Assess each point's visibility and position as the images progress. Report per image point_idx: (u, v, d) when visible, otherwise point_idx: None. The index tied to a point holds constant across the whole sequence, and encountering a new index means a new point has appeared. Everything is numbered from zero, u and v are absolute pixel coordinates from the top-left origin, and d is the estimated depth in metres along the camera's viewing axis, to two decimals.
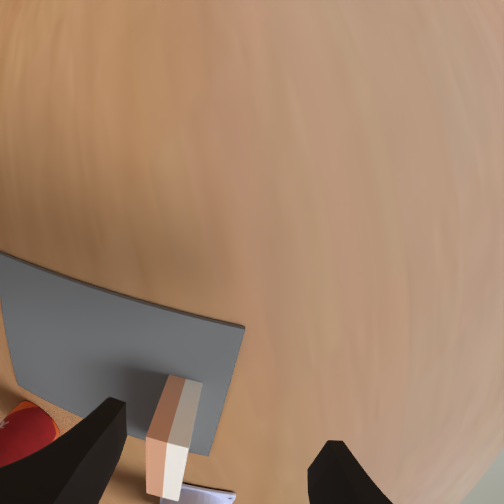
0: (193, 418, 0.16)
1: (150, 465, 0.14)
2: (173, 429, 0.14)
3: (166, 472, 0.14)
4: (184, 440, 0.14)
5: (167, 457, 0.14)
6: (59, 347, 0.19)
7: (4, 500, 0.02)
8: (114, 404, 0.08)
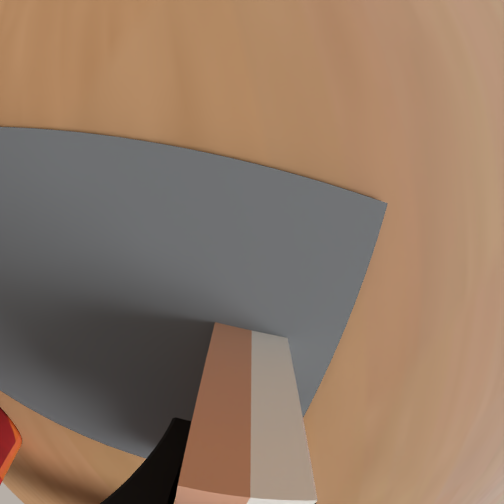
0: (298, 414, 0.06)
1: None
2: (258, 452, 0.05)
3: None
4: (299, 479, 0.04)
5: None
6: (3, 278, 0.09)
7: None
8: (183, 425, 0.08)
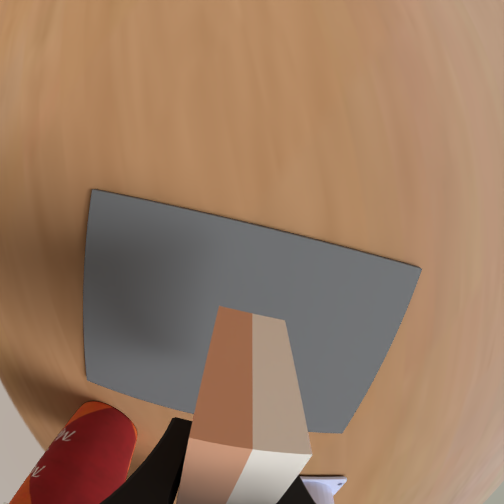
0: (294, 382, 0.07)
1: None
2: (259, 411, 0.06)
3: None
4: (295, 436, 0.05)
5: (239, 486, 0.05)
6: (181, 316, 0.17)
7: None
8: (183, 425, 0.08)
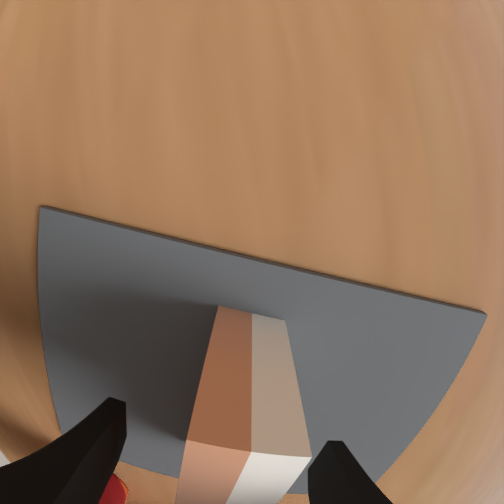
0: (294, 383, 0.07)
1: None
2: (258, 413, 0.06)
3: None
4: (294, 438, 0.05)
5: (238, 488, 0.05)
6: (172, 385, 0.11)
7: (4, 500, 0.02)
8: (114, 404, 0.08)
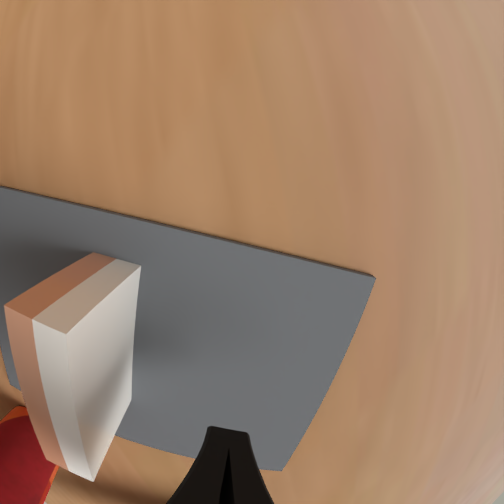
0: (101, 297, 0.09)
1: (26, 390, 0.07)
2: (56, 304, 0.07)
3: (51, 409, 0.07)
4: (66, 322, 0.07)
5: (41, 366, 0.07)
6: None
7: None
8: (220, 433, 0.08)
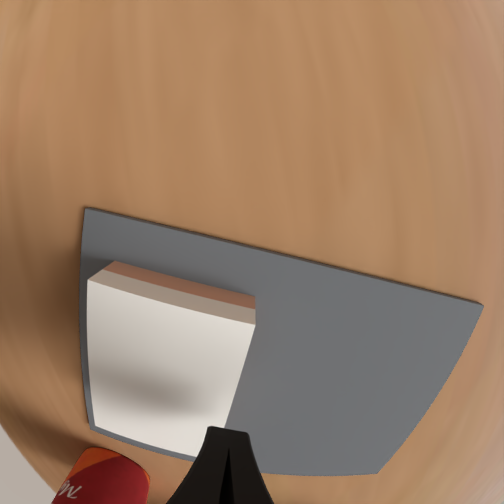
0: (150, 297, 0.10)
1: None
2: (125, 277, 0.10)
3: None
4: (103, 280, 0.10)
5: None
6: None
7: None
8: (220, 433, 0.08)
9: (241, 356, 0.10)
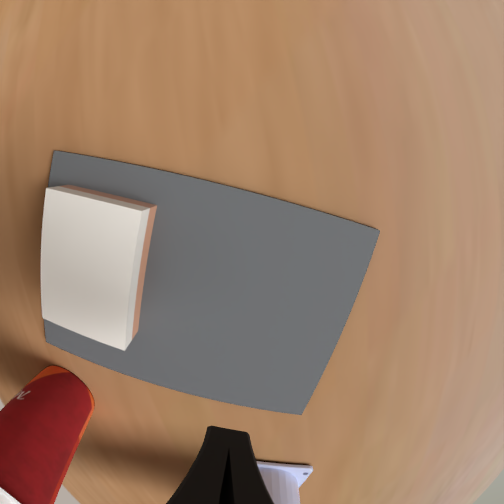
0: (80, 195, 0.13)
1: None
2: (71, 189, 0.14)
3: None
4: (55, 189, 0.13)
5: None
6: None
7: None
8: (220, 433, 0.08)
9: (134, 237, 0.14)
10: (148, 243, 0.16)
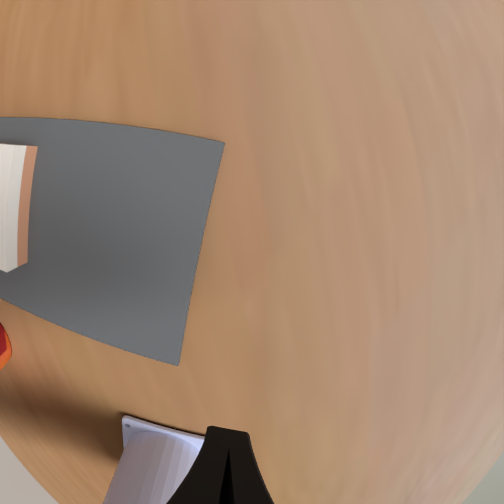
0: None
1: None
2: None
3: None
4: None
5: None
6: None
7: None
8: (220, 433, 0.08)
9: (9, 167, 0.13)
10: (30, 178, 0.15)
